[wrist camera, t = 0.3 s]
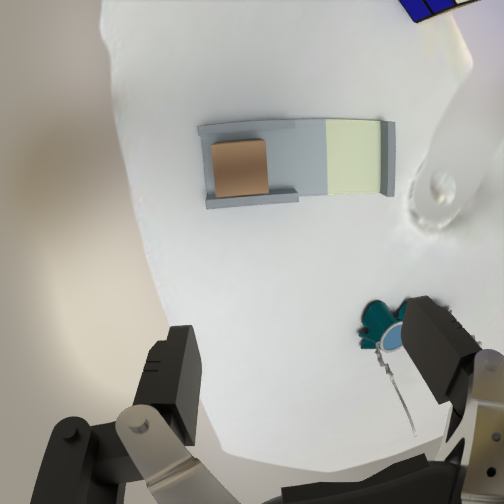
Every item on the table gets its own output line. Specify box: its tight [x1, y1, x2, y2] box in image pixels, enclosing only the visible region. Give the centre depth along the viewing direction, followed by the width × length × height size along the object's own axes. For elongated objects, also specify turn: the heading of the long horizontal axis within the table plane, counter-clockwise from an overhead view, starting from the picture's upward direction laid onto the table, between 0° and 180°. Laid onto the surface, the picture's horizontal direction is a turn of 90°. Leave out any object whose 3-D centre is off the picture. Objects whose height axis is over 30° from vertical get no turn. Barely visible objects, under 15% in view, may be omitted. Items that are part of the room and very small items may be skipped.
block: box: [211, 138, 269, 198], centre depth 31 cm, size 5×5×6 cm
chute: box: [198, 119, 396, 209], centre depth 33 cm, size 9×22×4 cm, turn 94°
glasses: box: [359, 302, 482, 437], centre depth 36 cm, size 18×9×20 cm, turn 98°
